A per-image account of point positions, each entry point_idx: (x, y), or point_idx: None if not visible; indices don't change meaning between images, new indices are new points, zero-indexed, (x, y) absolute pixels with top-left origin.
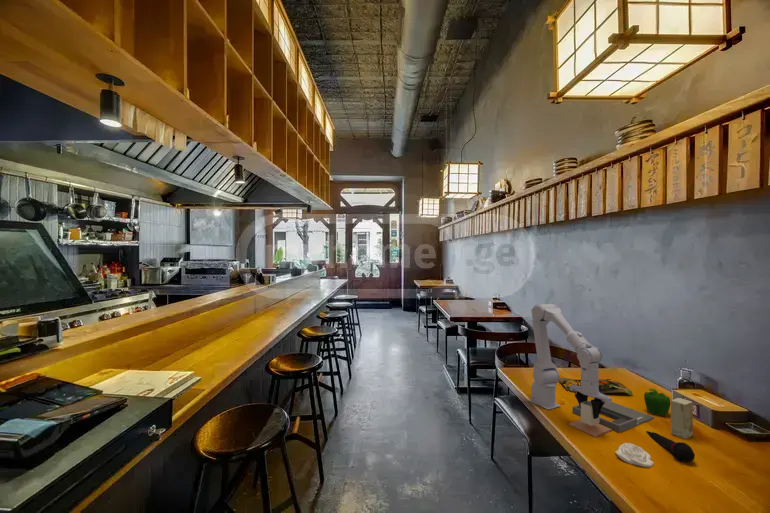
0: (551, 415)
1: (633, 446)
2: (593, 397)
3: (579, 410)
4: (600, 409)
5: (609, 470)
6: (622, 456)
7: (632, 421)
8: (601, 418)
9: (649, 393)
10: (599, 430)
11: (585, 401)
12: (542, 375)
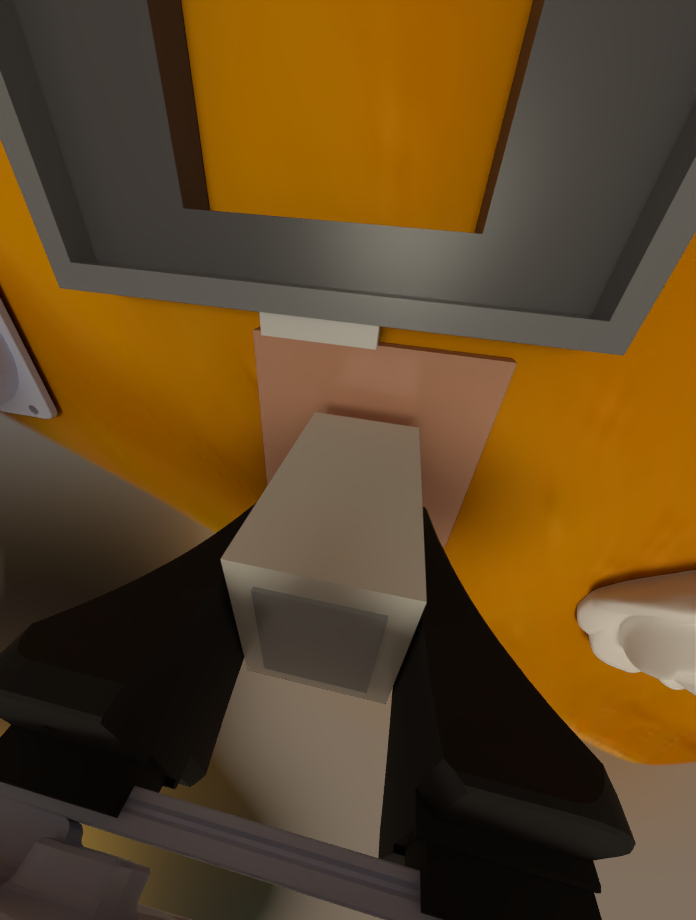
0: (140, 468)
1: None
2: (366, 874)
3: (148, 297)
4: (463, 598)
5: (563, 698)
6: (626, 671)
7: None
8: (399, 323)
9: None
10: (439, 467)
11: (239, 620)
12: None
